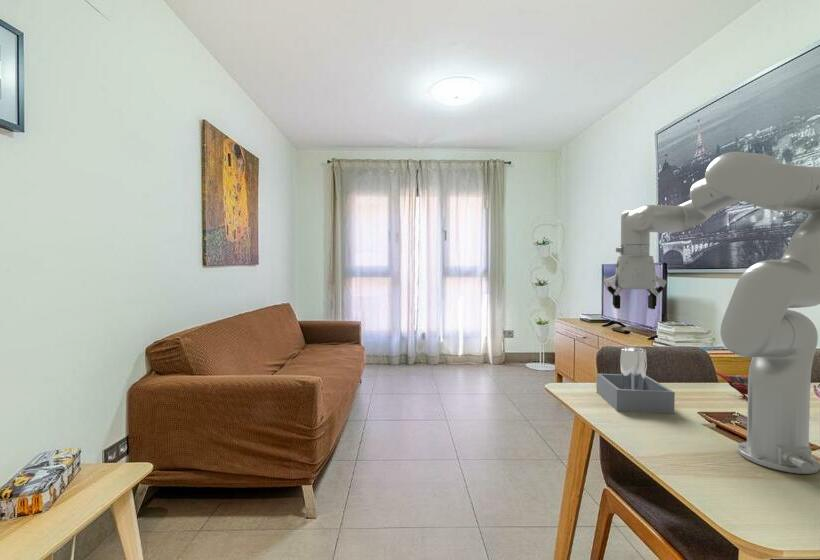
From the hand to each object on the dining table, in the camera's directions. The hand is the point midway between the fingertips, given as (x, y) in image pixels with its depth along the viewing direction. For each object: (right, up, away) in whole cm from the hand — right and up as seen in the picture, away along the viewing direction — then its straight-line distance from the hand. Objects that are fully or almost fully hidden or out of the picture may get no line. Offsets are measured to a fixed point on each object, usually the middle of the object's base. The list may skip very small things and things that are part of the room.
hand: (634, 308), depth 120 cm
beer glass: (0, -28, +1) cm, 28 cm away
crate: (0, -28, +1) cm, 28 cm away
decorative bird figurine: (+36, -28, +5) cm, 46 cm away
